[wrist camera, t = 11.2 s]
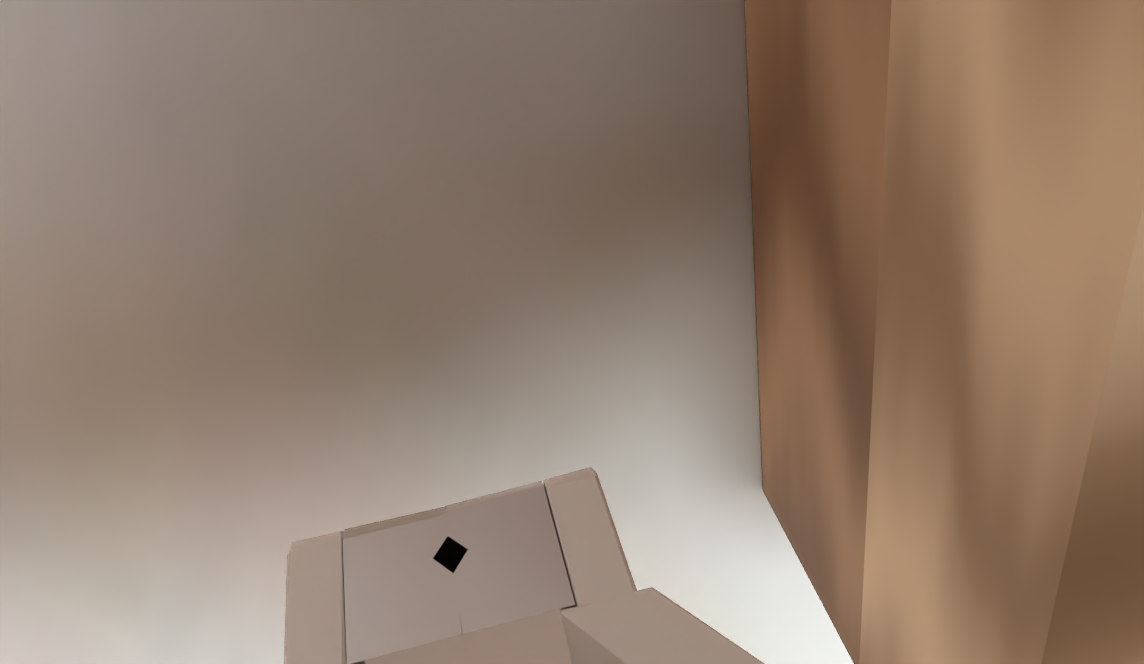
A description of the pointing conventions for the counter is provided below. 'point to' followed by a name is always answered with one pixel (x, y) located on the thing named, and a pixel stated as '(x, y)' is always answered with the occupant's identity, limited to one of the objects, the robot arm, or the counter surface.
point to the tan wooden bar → (1009, 338)
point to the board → (818, 274)
